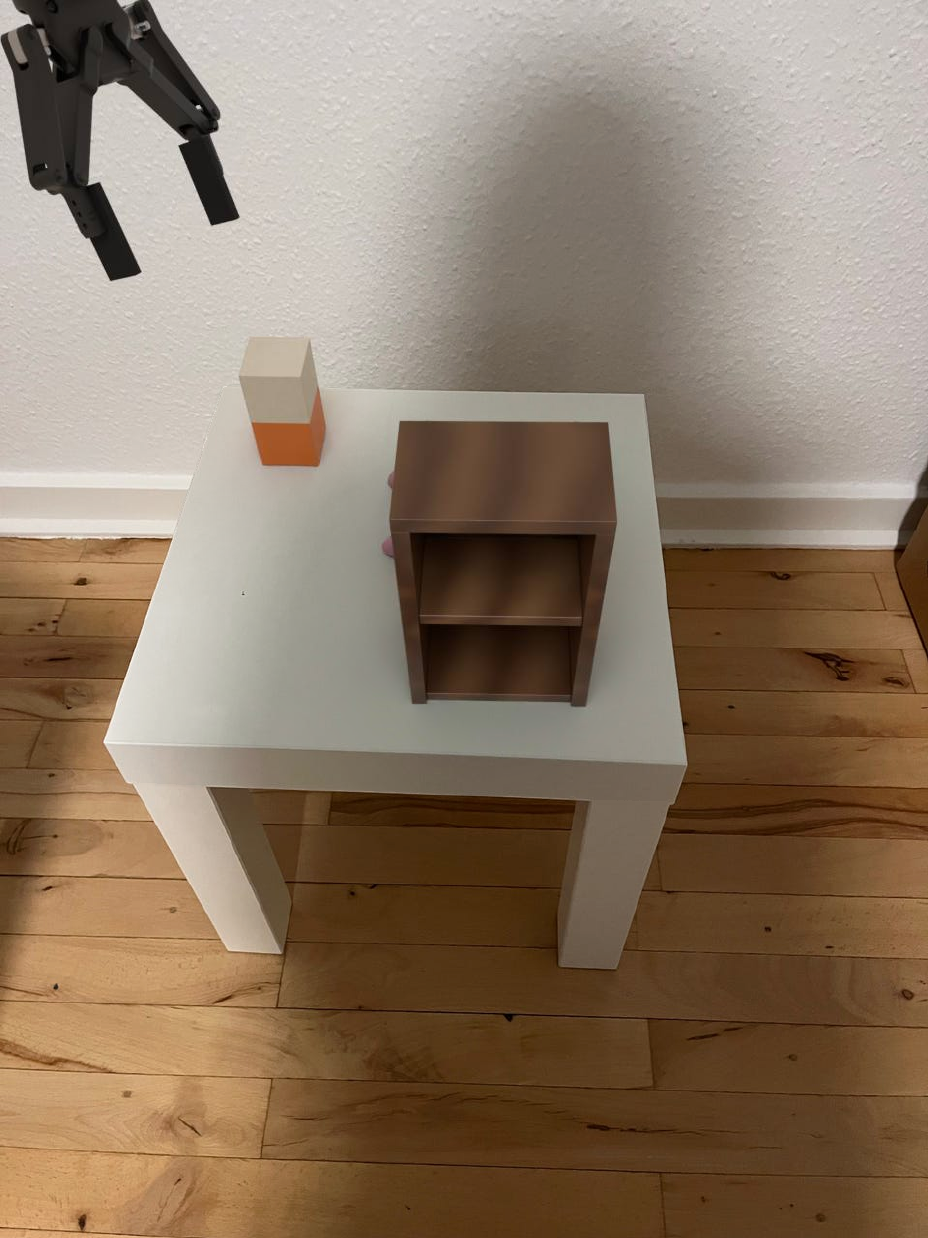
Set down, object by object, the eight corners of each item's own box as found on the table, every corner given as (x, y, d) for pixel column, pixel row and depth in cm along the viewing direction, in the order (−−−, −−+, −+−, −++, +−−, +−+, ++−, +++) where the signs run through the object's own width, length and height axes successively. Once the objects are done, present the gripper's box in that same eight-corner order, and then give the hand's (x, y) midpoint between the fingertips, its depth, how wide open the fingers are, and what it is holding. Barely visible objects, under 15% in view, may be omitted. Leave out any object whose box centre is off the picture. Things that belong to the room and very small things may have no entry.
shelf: (411, 704, 74) (388, 519, 57) (418, 614, 80) (399, 420, 62) (585, 707, 74) (617, 521, 56) (580, 616, 79) (608, 421, 62)
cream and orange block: (262, 465, 91) (238, 375, 82) (271, 426, 94) (249, 336, 85) (318, 466, 91) (300, 376, 82) (326, 427, 94) (309, 337, 85)
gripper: (-66, -69, 53) (113, 296, 64) (189, -98, 70) (293, 193, 82) (-142, -28, 56) (40, 311, 68) (118, -65, 74) (228, 210, 85)
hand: (179, 247), depth 75 cm, fingers open, 13 cm apart
